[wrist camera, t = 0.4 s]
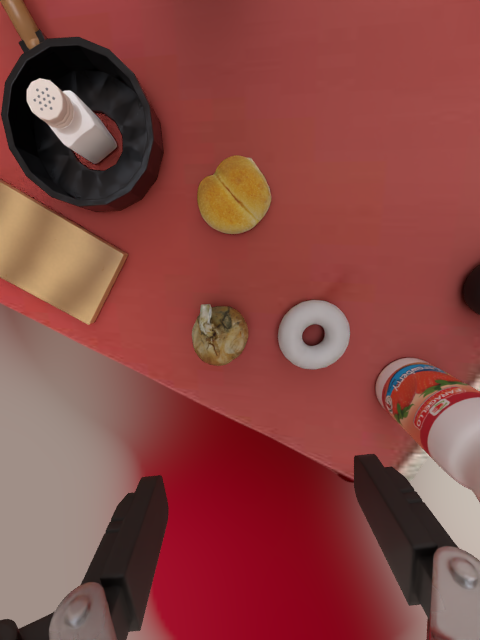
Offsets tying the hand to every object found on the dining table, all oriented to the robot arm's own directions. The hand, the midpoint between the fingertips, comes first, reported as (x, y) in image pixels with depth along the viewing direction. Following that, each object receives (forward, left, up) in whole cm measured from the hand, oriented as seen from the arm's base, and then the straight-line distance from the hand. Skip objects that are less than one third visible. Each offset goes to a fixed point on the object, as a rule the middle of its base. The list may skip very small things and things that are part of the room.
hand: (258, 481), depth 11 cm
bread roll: (-16, +1, -29) cm, 33 cm away
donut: (+3, +10, -29) cm, 30 cm away
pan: (-30, -17, -28) cm, 44 cm away
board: (-13, -26, -28) cm, 41 cm away
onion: (+1, -3, -29) cm, 29 cm away
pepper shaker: (-24, -15, -29) cm, 40 cm away
